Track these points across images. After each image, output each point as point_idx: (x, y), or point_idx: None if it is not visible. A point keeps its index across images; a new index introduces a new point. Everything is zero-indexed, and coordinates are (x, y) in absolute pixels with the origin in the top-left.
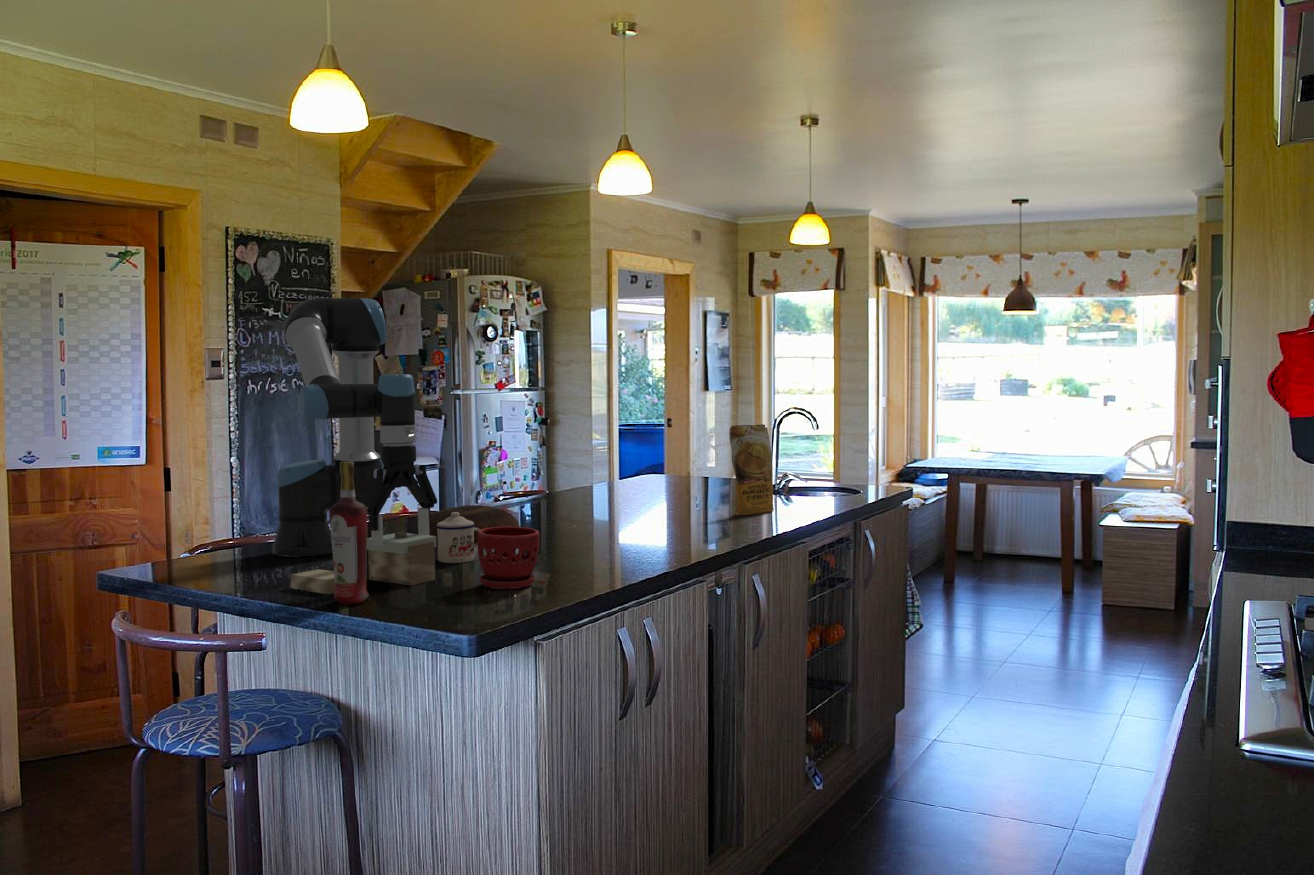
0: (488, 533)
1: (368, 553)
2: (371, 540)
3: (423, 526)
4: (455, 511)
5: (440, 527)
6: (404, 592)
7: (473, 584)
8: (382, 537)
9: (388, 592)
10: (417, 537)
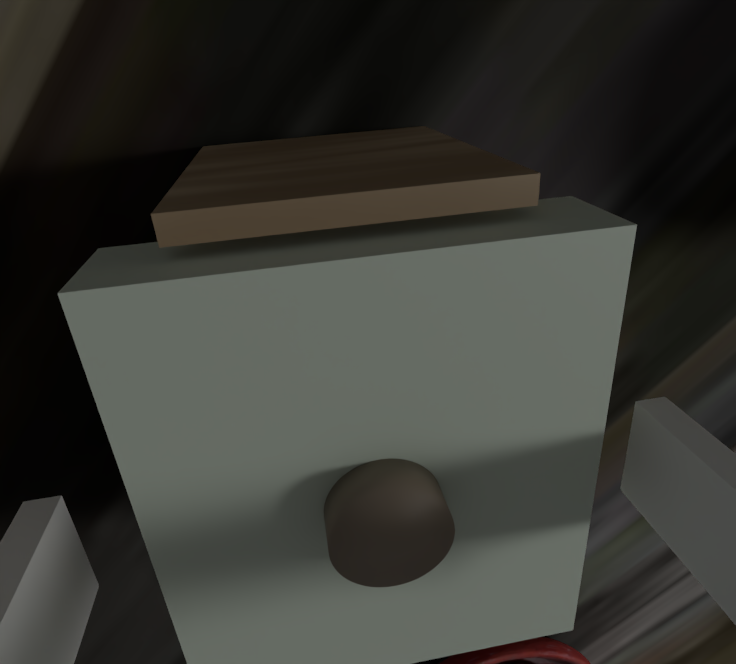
0: None
1: (174, 184)
2: (95, 386)
3: (695, 530)
4: None
5: None
6: (151, 562)
7: None
8: (67, 659)
9: (91, 519)
10: (457, 595)
